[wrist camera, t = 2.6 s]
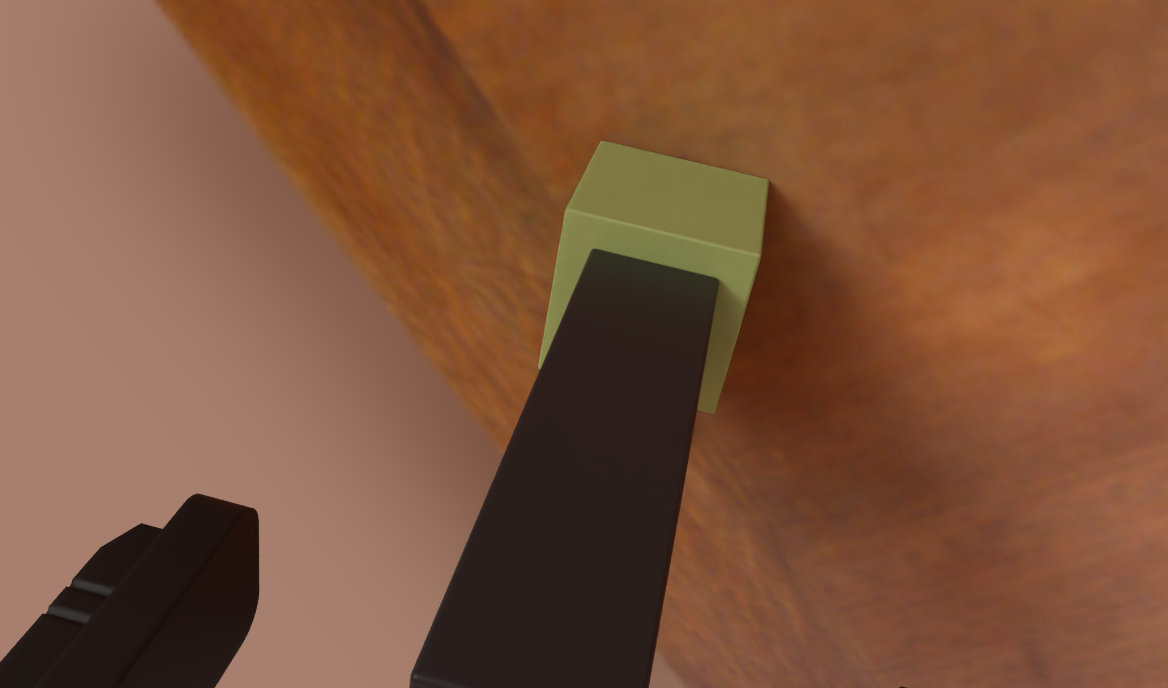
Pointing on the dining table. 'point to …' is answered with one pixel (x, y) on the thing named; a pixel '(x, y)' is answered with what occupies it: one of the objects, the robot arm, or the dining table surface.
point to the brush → (604, 431)
